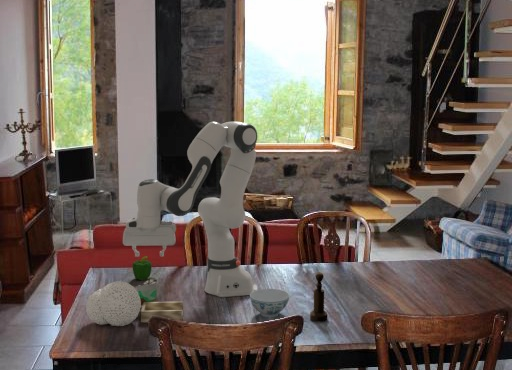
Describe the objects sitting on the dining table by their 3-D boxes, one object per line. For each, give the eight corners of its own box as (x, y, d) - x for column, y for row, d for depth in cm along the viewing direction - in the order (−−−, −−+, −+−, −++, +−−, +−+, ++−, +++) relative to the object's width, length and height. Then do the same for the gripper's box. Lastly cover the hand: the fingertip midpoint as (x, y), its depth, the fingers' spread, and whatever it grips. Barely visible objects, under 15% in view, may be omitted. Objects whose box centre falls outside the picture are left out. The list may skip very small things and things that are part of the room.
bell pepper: (133, 282, 302) (132, 260, 301) (132, 276, 310) (131, 255, 309) (152, 281, 304) (152, 259, 303) (151, 275, 312) (150, 254, 311)
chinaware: (252, 306, 271) (252, 288, 270) (290, 308, 270) (290, 289, 268) (247, 320, 257) (247, 300, 255) (288, 322, 255) (288, 302, 254)
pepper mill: (308, 316, 261) (309, 270, 258) (325, 315, 262) (326, 269, 259) (311, 322, 255) (312, 275, 252) (328, 321, 255) (329, 275, 252)
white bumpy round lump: (151, 293, 260) (126, 266, 251) (146, 329, 246) (119, 301, 237) (107, 312, 266) (81, 285, 257) (101, 348, 252) (73, 321, 243)
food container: (153, 311, 266) (152, 286, 264) (137, 310, 267) (137, 285, 265) (163, 301, 278) (163, 277, 276) (149, 300, 279) (148, 276, 277)
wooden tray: (183, 311, 265) (183, 301, 265) (181, 321, 255) (181, 310, 254) (143, 312, 264) (143, 302, 264) (141, 322, 254) (140, 311, 253)
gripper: (176, 219, 270) (176, 254, 273) (123, 219, 269) (124, 254, 271) (175, 223, 264) (175, 258, 266) (121, 223, 263) (122, 258, 265)
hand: (149, 256), depth 269 cm, fingers open, 8 cm apart
